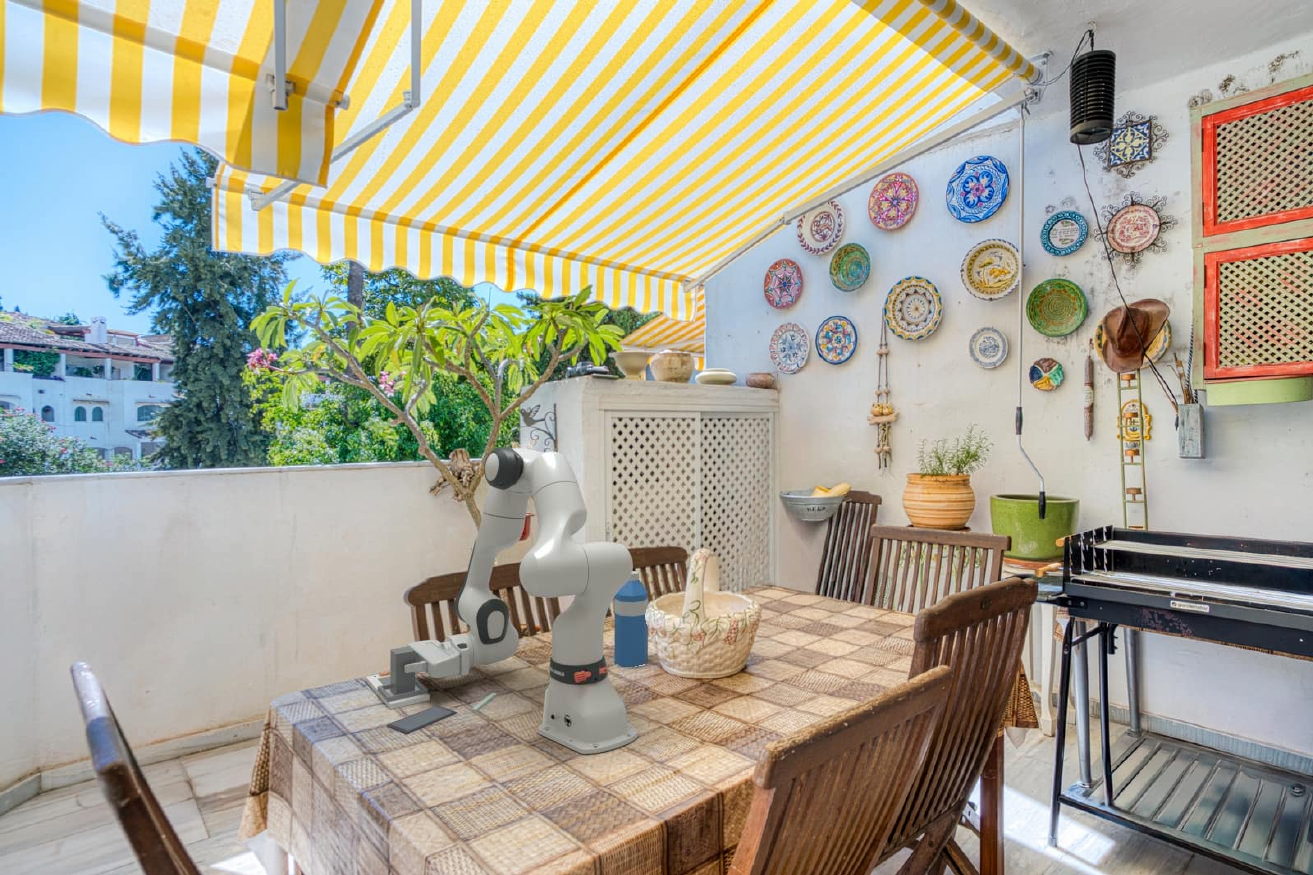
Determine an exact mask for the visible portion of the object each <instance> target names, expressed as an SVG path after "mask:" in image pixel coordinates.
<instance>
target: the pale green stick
mask: <svg viewBox="0 0 1313 875" xmlns="http://www.w3.org/2000/svg"><path fill="white" fill-rule="evenodd" d="M497 694H498V693H497V692H496V693H495V692H491V693H489V695H487V696H486V697H485V698H484V699H482V700H480V702H478V703H477V704H476V705H475V706H473V707H472V708H471V712H472V713H477V712H479V710H481V709H482V708H484V706H486V705H487V704H488V703H490V702H491V701H492V700H493V699H495V698H496V697H497ZM490 700H491V701H490Z"/></svg>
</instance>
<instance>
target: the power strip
mask: <svg viewBox="0 0 1313 875" xmlns="http://www.w3.org/2000/svg"><path fill="white" fill-rule="evenodd" d="M385 673H386V674H385ZM379 675H380V676H379ZM374 676H376V677H374ZM365 683H366V684H367V685H368V686H369V687H370V689H371V690H372V691H373V692H374V693H375V694H376V695H377V696H378V698H380V700H381V701H382V702H383V703H384V704H385V705H386V707H388V709H389V710H393V709H399V708H402V707H406V706H411V705H416V704H419V703H424V702H428V701H430V700H431V695H430V694H429V689H428V687H426V685H424V684H423V683H422V682H421V681H420V680H419V679H418V678H417V677H415V691H411V692H407V693H402V694H398V695H393V693H392V692H391V691H390V670H389V669H388V670H385V671H380V672H379V673H378V674H372V675H369V676H365Z"/></svg>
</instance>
